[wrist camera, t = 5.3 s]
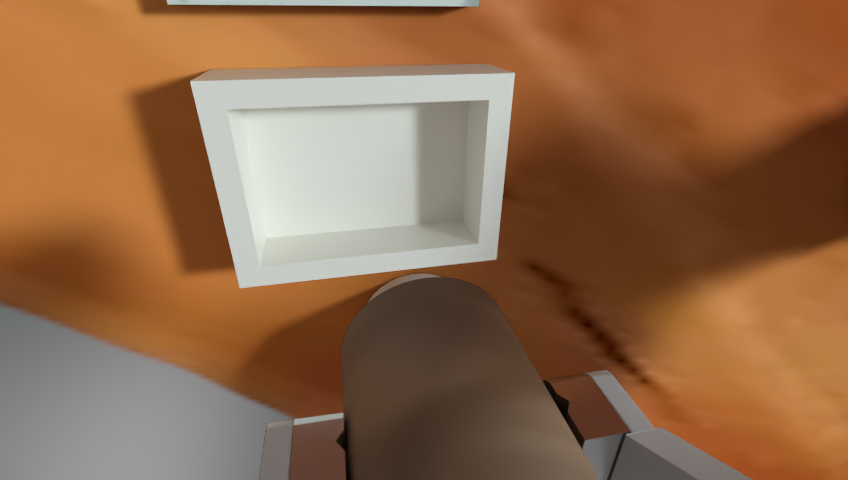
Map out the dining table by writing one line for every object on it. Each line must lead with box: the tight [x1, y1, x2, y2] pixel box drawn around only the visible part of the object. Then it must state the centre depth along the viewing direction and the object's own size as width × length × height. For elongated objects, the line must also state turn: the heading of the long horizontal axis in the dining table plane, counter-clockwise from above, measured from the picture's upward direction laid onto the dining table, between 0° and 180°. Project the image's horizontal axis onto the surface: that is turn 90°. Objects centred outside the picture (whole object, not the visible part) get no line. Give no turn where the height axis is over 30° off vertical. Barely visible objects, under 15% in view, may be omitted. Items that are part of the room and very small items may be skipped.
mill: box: [341, 277, 600, 480], centre depth 9 cm, size 4×4×6 cm
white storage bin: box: [190, 64, 515, 288], centre depth 23 cm, size 14×10×4 cm
